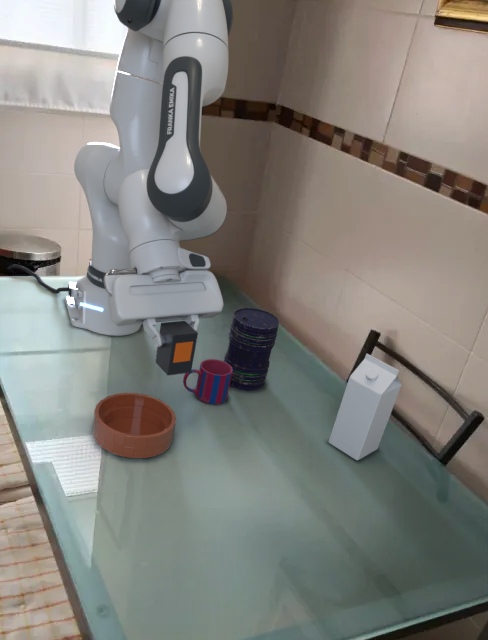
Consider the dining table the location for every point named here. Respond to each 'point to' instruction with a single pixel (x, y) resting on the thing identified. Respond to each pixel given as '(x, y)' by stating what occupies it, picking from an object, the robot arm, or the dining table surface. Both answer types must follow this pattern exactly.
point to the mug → (211, 381)
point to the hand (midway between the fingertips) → (177, 345)
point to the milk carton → (365, 408)
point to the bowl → (133, 425)
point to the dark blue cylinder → (250, 347)
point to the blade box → (177, 348)
